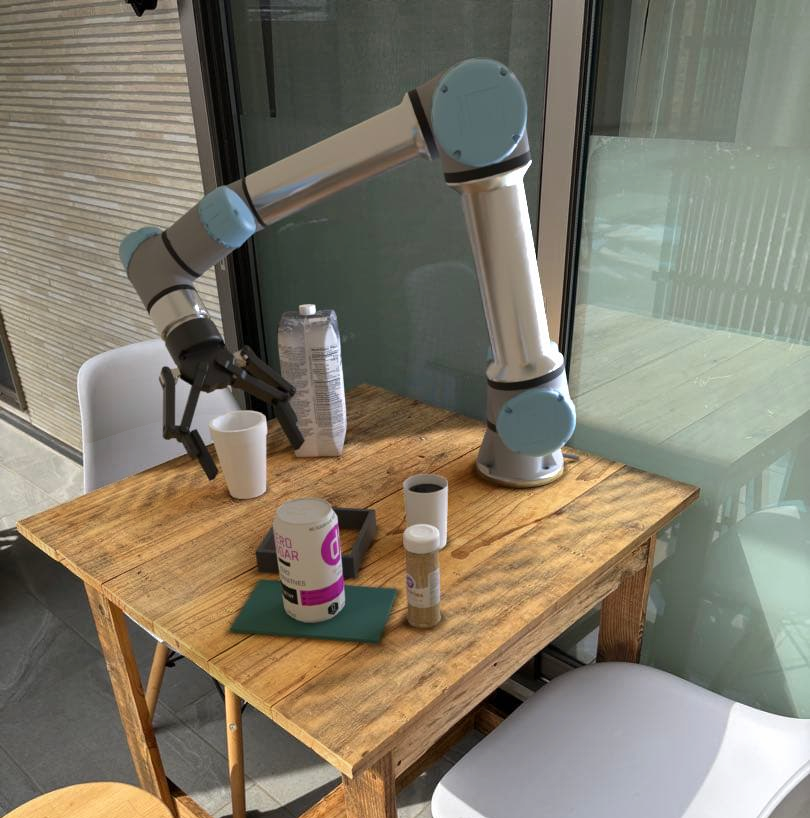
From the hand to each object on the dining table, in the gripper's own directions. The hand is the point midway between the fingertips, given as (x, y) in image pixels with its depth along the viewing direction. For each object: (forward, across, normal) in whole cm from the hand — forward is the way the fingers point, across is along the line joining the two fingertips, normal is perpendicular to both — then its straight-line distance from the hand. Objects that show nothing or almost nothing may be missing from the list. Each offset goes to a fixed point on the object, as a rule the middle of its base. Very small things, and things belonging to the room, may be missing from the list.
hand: (258, 460), depth 116 cm
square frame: (+12, -8, -12) cm, 19 cm away
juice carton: (-9, -29, -34) cm, 46 cm away
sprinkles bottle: (+30, -8, +5) cm, 32 cm away
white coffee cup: (+20, -21, -6) cm, 29 cm away
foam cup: (-5, -10, -30) cm, 32 cm away
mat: (+22, +2, -3) cm, 22 cm away
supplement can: (+22, +2, -3) cm, 22 cm away
